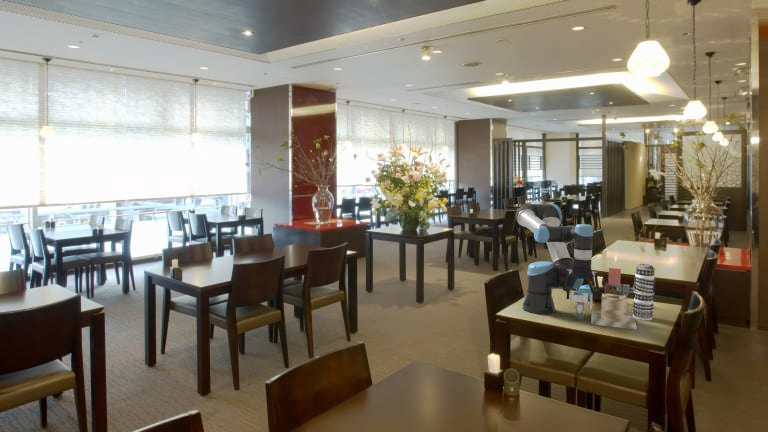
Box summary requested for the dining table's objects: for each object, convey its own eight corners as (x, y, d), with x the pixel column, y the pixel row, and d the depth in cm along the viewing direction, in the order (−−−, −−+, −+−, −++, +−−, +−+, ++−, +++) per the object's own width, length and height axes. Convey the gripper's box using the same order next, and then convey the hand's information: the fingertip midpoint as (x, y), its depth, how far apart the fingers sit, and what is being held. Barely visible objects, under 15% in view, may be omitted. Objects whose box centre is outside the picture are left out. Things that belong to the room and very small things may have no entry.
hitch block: (591, 324, 222) (593, 288, 221) (591, 314, 237) (593, 281, 235) (636, 329, 215) (638, 292, 214) (633, 319, 230) (635, 284, 228)
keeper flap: (609, 268, 231) (609, 268, 232) (608, 285, 231) (608, 285, 232) (621, 269, 229) (620, 268, 230) (620, 286, 229) (619, 286, 230)
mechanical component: (636, 305, 254) (637, 286, 253) (615, 303, 256) (616, 284, 255) (635, 303, 257) (636, 284, 256) (613, 302, 259) (614, 283, 258)
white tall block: (572, 320, 227) (573, 294, 226) (572, 317, 233) (574, 291, 232) (586, 322, 225) (587, 296, 224) (586, 318, 230) (588, 293, 229)
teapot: (599, 299, 266) (600, 285, 265) (599, 301, 260) (600, 287, 259) (575, 296, 270) (576, 283, 270) (575, 299, 265) (575, 285, 264)
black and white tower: (626, 315, 236) (629, 263, 233) (641, 313, 239) (644, 262, 237) (643, 321, 227) (646, 267, 225) (658, 319, 230) (661, 266, 228)
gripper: (557, 258, 227) (555, 306, 229) (608, 261, 218) (605, 312, 221) (558, 255, 233) (556, 302, 236) (607, 259, 225) (605, 307, 228)
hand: (580, 307), depth 228 cm, fingers open, 8 cm apart
